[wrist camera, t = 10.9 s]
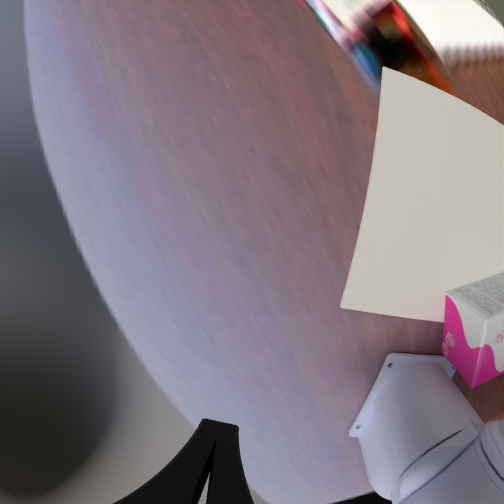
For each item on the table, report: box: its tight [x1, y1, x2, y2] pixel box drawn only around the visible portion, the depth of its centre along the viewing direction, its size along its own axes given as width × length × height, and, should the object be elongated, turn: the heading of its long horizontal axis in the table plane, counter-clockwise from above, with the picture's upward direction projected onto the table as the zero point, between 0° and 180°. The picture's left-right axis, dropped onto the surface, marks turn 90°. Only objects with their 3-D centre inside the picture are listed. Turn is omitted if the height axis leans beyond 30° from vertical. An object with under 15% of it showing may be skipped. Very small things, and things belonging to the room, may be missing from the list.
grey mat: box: [340, 67, 504, 322], centre depth 16 cm, size 17×18×1 cm
